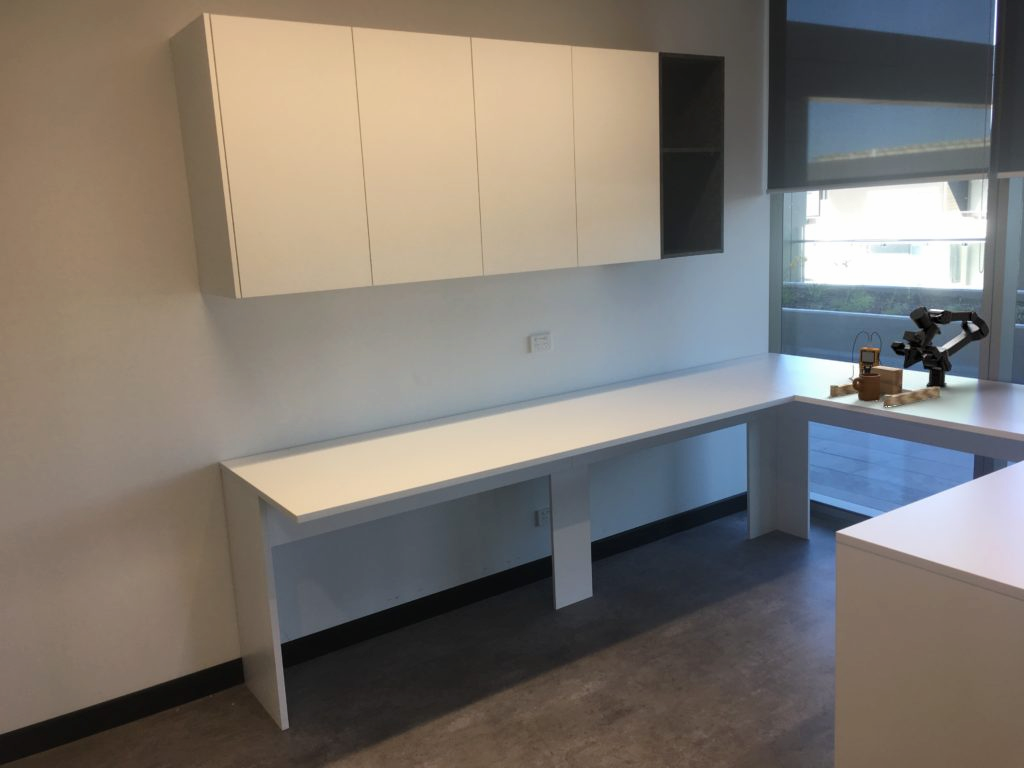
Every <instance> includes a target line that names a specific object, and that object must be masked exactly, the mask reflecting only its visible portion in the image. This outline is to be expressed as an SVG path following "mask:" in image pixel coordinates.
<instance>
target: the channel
mask: <svg viewBox="0 0 1024 768" xmlns="http://www.w3.org/2000/svg"><path fill="white" fill-rule="evenodd" d="M852 383H853V382H848V383H846V384H845V383H844V384H839V385H837V384H831V385H829V387H830V388H829V389H830V390H829V396H830V395H831V396H830V397H833V396H836V397H839V396H838V395H841V396H845V395H844V394H846V395H850V394H851V395H852V394H855V393H858V391H857V390H855V389H854V388H853V385H852ZM857 386H858V382H857ZM938 396H939V397H940V396H941V387H936V386H935V387H934V386H929V387H926V388H921V389H916V390H912V391H910V392H905V393H900V394H896V395H884V396H883V404H882V406H887V407H886V408H889V407H888V406H892V407H895V406H894V405H897V406H900V405H899V404H902V405H906V404H910V402H911V403H915V401H916V402H921V401H925V400H929V399H928V398H930V399H934V398H933V397H935V398H939V397H938ZM924 399H925V400H924ZM920 400H921V401H920ZM905 403H906V404H905Z"/></svg>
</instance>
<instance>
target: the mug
mask: <svg viewBox="0 0 1024 768" xmlns="http://www.w3.org/2000/svg"><path fill="white" fill-rule="evenodd" d="M857 382H858V386H857ZM851 383H852V385H853V388H854V389H855V390H857V391H858V392H857V398H858V400H860V401H862V400H864V402H877V401H879V400H880V399H881V395H880V384H881V378H880V374H876V373H862V374H859V373H858V376H857V377H855V378H853V380H852V382H851ZM876 400H877V401H876Z"/></svg>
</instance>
